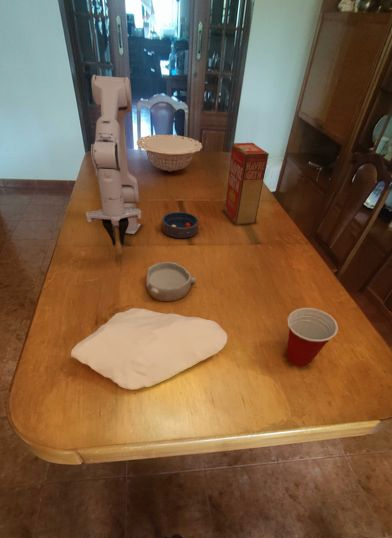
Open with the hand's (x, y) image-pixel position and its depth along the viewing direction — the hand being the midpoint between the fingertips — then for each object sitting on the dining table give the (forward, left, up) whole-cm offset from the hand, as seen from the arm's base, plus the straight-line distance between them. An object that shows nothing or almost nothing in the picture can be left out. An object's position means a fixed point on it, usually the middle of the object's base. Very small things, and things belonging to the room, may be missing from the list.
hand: (117, 243), depth 93 cm
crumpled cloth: (+20, -31, -9) cm, 38 cm away
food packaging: (+31, +51, -9) cm, 61 cm away
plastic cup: (+55, -23, -9) cm, 60 cm away
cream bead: (+9, +29, -7) cm, 32 cm away
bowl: (+11, +31, -9) cm, 34 cm away
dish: (+17, -5, -9) cm, 20 cm away
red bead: (+13, +33, -7) cm, 36 cm away
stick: (0, 0, -3) cm, 3 cm away
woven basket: (-10, +90, -9) cm, 91 cm away
